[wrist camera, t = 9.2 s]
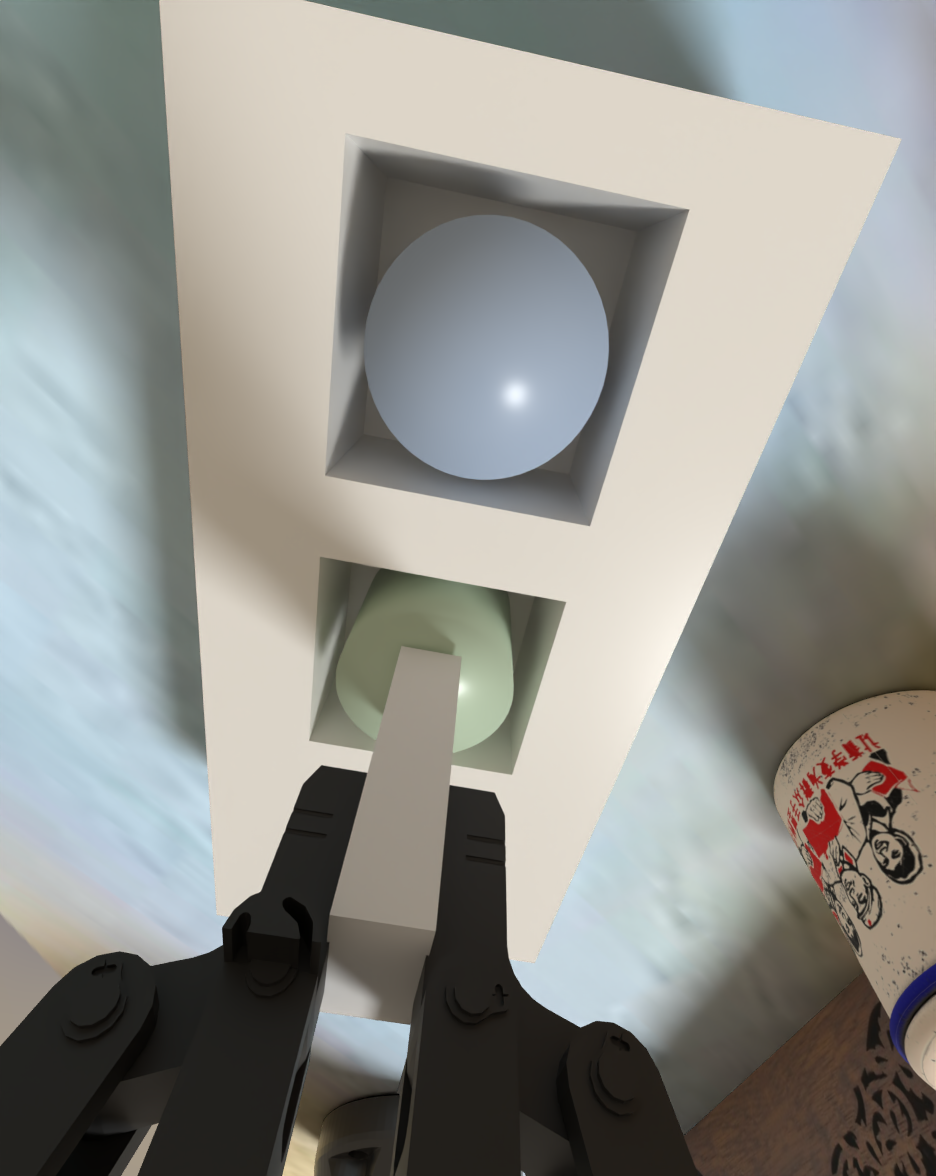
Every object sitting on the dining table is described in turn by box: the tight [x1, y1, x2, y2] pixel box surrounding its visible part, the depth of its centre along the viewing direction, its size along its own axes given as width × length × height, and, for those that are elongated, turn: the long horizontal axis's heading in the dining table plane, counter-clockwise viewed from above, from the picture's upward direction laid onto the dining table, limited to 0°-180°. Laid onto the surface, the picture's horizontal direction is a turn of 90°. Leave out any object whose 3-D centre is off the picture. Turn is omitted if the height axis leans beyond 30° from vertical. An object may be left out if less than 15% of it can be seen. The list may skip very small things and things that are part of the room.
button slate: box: [364, 215, 609, 480], centre depth 12 cm, size 5×5×4 cm
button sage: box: [336, 568, 514, 753], centre depth 16 cm, size 5×5×4 cm
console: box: [159, 0, 902, 963], centre depth 17 cm, size 25×12×5 cm, turn 170°
